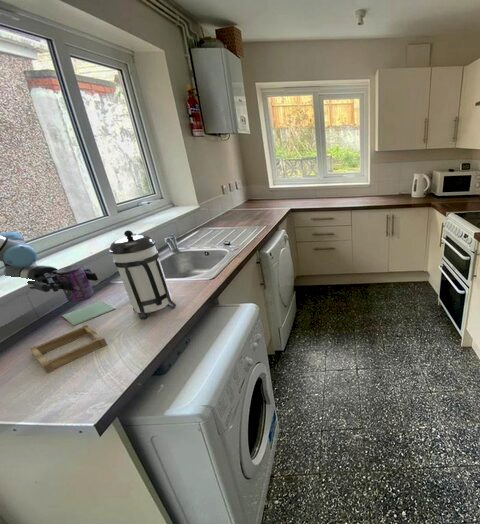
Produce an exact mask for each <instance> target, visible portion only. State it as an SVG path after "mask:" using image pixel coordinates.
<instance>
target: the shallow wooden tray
mask: <svg viewBox="0 0 480 524" xmlns="http://www.w3.org/2000/svg"><path fill="white" fill-rule="evenodd" d="M86 335H87V336H88V337H90V339H92V341H89V342H87V343H84V344H83V345H79V346H78V347H76V348H74V349H72V350H69V351H67V352H65V353H63V354H61V355H58V356H55V357H54V358H51V359H50V360H47V358H46V357H45V356H44V355H43V354H45V353H48V352H50V351H53V350H54V349H57V348H59V347H61V346H64V345H66V344H68V343H70V342H74V341H76V340H77V339H80V338H82V337H85V336H86ZM106 346H108V344H107V341H106V339H105V338H104V337H103V336H102V335H100V333H98V332H97V331H96V330H94V329H93V328H91V327H90V326H89V325H87V324H85V325H83V326H81V327H79V328H77V329H75V330H72V331H69V332H67V333H65V334H62V335H59V336H57V337H55V338H53V339H49V340H47V341H45V342H43V343H40V344H38V345H36V346H35V345H34V346H31V347H29V351H30V352H31V355H32V356H33V357H34V358H35V360H36V361H37V362H38V364H39V365H40V366H41V367H42V368H43V369H44V371H45V372H46V373H47V374H49V373H51V372H54V370H56V369H59V368H60V367H62V366H64V365H67V364H69V363H71V362H73V361H75V360H77V359H79V358H81V357H83V356H86V355H87V354H90V353H92V352H93V351H96V350H98V349H100V348H104V347H106Z"/></svg>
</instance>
